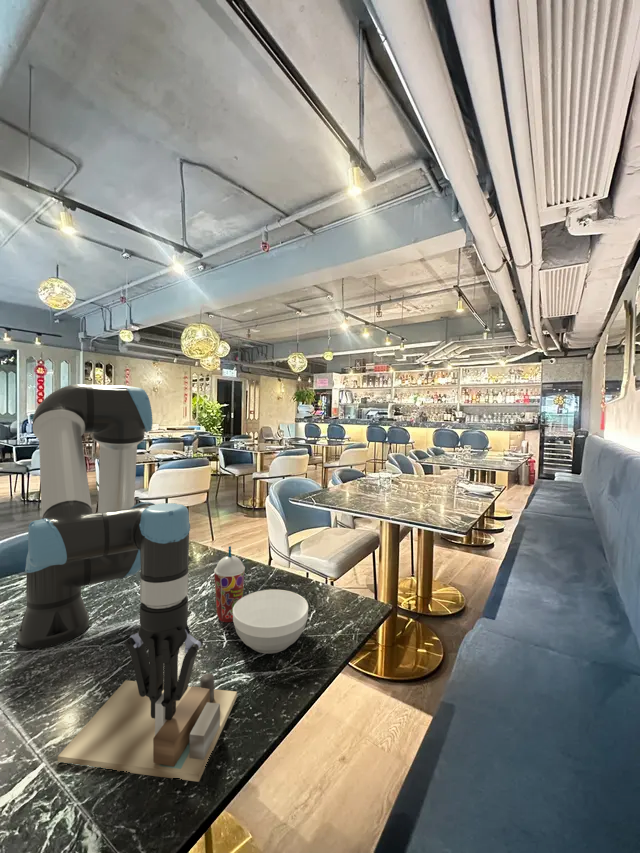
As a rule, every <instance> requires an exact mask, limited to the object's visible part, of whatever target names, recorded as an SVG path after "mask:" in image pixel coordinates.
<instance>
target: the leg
mask: <svg viewBox="0 0 640 853" xmlns="http://www.w3.org/2000/svg"><path fill="white" fill-rule="evenodd" d="M190 687H191V688H190V690H189V691H188V692H187V694H186V695H185V696H184V698H183V699H182V700H181V702H180V703H179V704H178V706H177V707H176V712H175V714H174V716H173V717H172V719H171V720H167V721H166V722H165V723H164V725H163V726H162V727H161V729H160V730H159V731H158V733H157V734H156V735H155V737H154V738H153V763H158V764H163V765H168V766H172V767H174V766H175V764H176V763H177V761H178V759H179V758H180V756H181V755H182V753H183V751H184V750H185V748H186V747H187V745H188V743H189V742H190V733H191V731H192V729H193V727H194V725H195V724H196V722H197V720H198V718H199V716H200V714H201V713H202V711H203V709H204V707H205V705H206V703H207V702H209V703H210V689H207V688H201V687H200V686H193V685H192V686H190Z"/></svg>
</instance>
